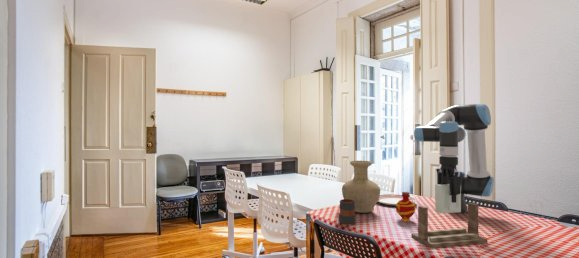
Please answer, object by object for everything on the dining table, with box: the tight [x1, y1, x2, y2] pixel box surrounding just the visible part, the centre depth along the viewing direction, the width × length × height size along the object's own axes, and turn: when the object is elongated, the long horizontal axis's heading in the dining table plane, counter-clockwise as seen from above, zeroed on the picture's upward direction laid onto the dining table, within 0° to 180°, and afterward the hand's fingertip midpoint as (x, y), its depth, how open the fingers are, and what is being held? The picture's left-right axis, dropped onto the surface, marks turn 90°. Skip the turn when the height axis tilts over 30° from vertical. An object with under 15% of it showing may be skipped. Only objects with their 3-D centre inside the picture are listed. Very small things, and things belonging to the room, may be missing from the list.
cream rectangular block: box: [434, 183, 461, 214], centre depth 145 cm, size 10×4×12 cm, turn 103°
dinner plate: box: [377, 193, 417, 207], centre depth 217 cm, size 27×27×3 cm
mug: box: [338, 198, 356, 226], centre depth 173 cm, size 9×12×12 cm
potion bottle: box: [395, 191, 417, 222], centre depth 176 cm, size 10×10×15 cm
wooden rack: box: [411, 202, 488, 249], centre depth 145 cm, size 28×14×16 cm, turn 103°
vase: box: [341, 160, 381, 214], centre depth 194 cm, size 22×22×30 cm
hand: (448, 208), depth 145 cm, fingers closed on cream rectangular block, 4 cm apart
